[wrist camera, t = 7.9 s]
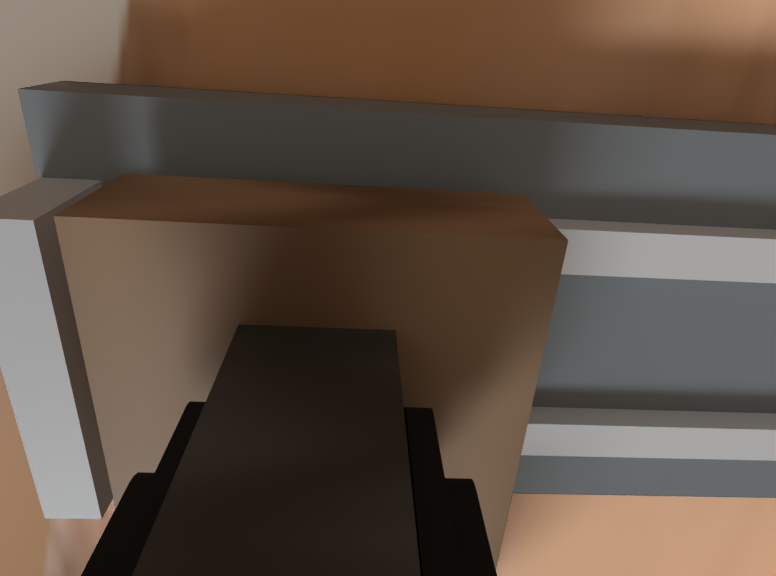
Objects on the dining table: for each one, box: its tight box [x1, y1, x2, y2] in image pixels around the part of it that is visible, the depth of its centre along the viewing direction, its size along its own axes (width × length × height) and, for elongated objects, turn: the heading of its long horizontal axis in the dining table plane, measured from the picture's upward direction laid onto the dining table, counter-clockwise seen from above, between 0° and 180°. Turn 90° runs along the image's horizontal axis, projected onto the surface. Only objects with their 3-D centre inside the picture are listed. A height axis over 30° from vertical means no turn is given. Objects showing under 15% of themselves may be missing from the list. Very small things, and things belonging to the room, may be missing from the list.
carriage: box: [54, 173, 568, 576], centre depth 10 cm, size 9×9×10 cm
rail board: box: [0, 81, 776, 519], centre depth 15 cm, size 28×12×5 cm, turn 86°
